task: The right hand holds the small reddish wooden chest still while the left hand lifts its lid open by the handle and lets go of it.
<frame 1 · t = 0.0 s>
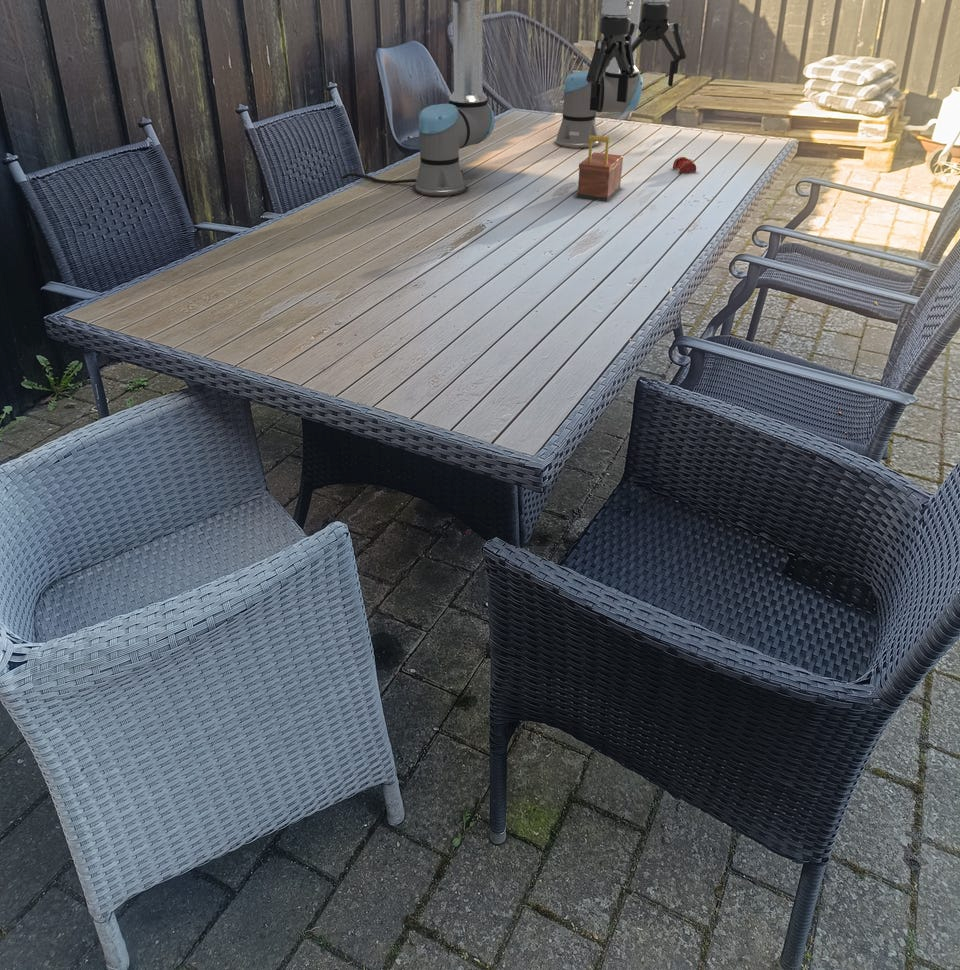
left hand: (608, 106, 226), 28 cm above the table, tool pointing down, fingers open, 13 cm apart
right hand: (647, 85, 248), 28 cm above the table, tool pointing down, fingers open, 13 cm apart
dental model: (684, 171, 275), on the table
lid: (602, 148, 248), point 13 cm above the table, hinge at 0.0°
chest: (598, 193, 256), on the table
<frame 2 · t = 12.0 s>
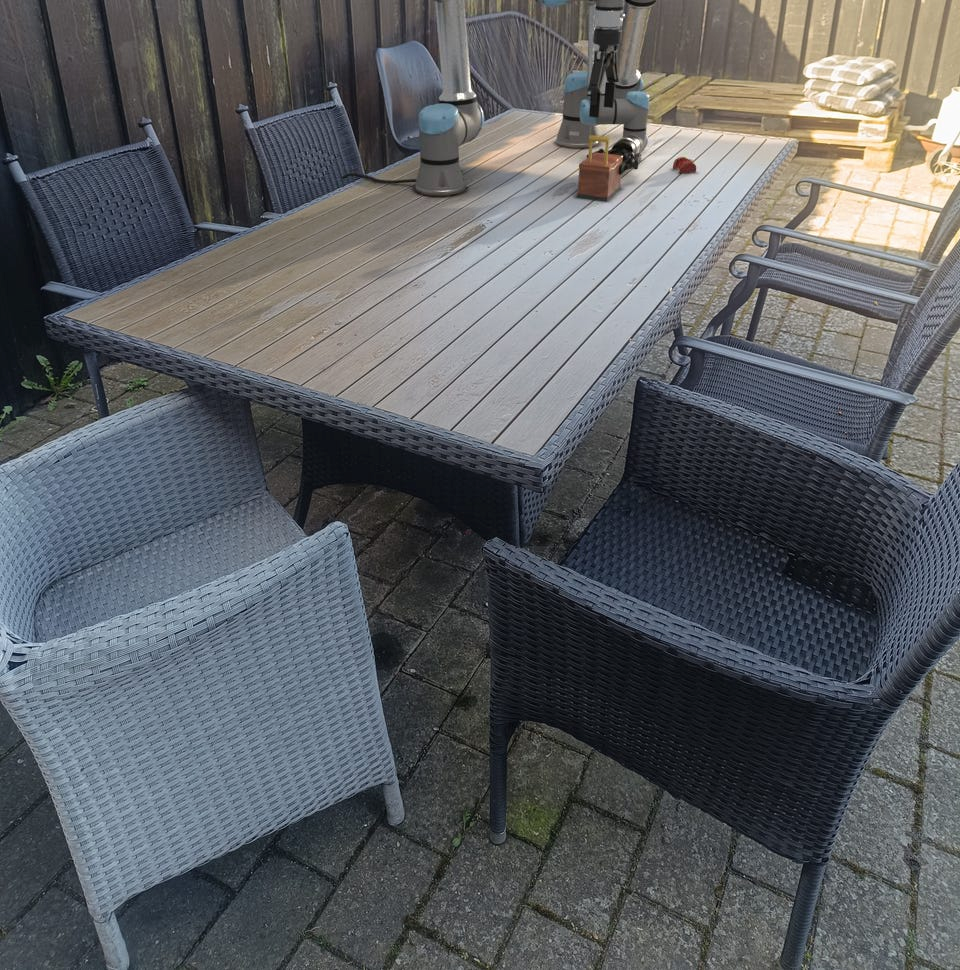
left hand: (601, 112, 239), 24 cm above the table, tool pointing down, fingers open, 13 cm apart
right hand: (604, 168, 255), 6 cm above the table, tool horizontal, fingers closed on chest, 9 cm apart
chest: (598, 193, 256), on the table, touching right hand
everything else where it was.
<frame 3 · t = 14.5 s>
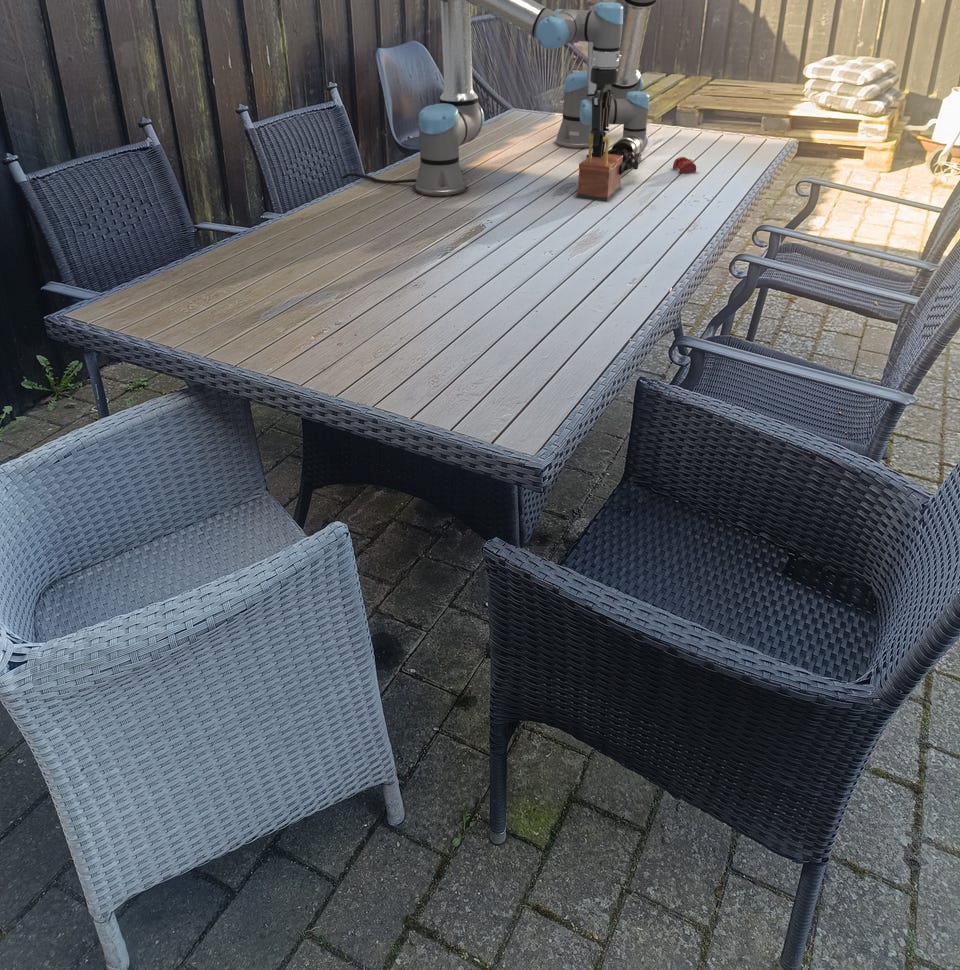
left hand: (598, 155, 246), 12 cm above the table, tool pointing down, fingers closed on lid, 1 cm apart
right hand: (604, 168, 255), 6 cm above the table, tool horizontal, fingers closed on chest, 9 cm apart
lid: (602, 148, 248), point 13 cm above the table, hinge at 0.0°, touching left hand
chest: (598, 193, 256), on the table, touching right hand
everything else where it was.
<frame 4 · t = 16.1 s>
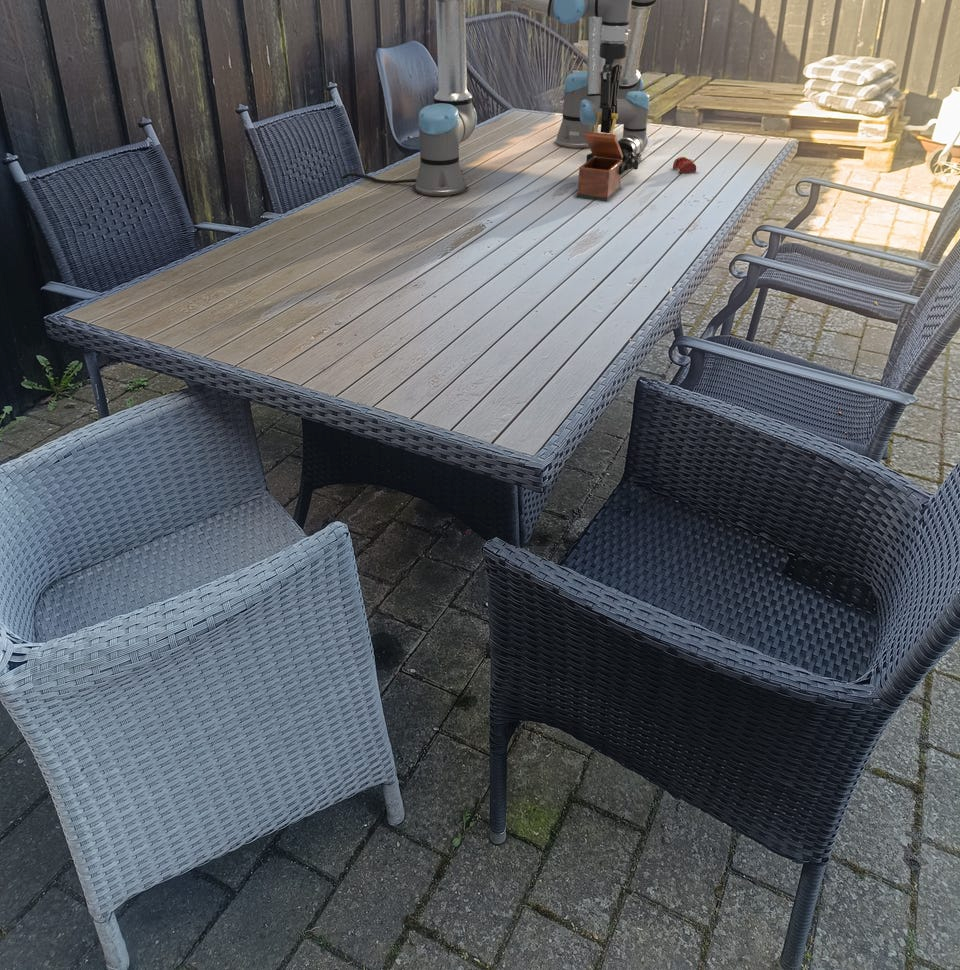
left hand: (606, 131, 247), 17 cm above the table, tool pointing down, fingers closed on lid, 1 cm apart
right hand: (604, 168, 255), 6 cm above the table, tool horizontal, fingers closed on chest, 9 cm apart
lid: (607, 133, 249), point 17 cm above the table, hinge at 36.6°, touching left hand
chest: (598, 193, 256), on the table, touching right hand
everything else where it was.
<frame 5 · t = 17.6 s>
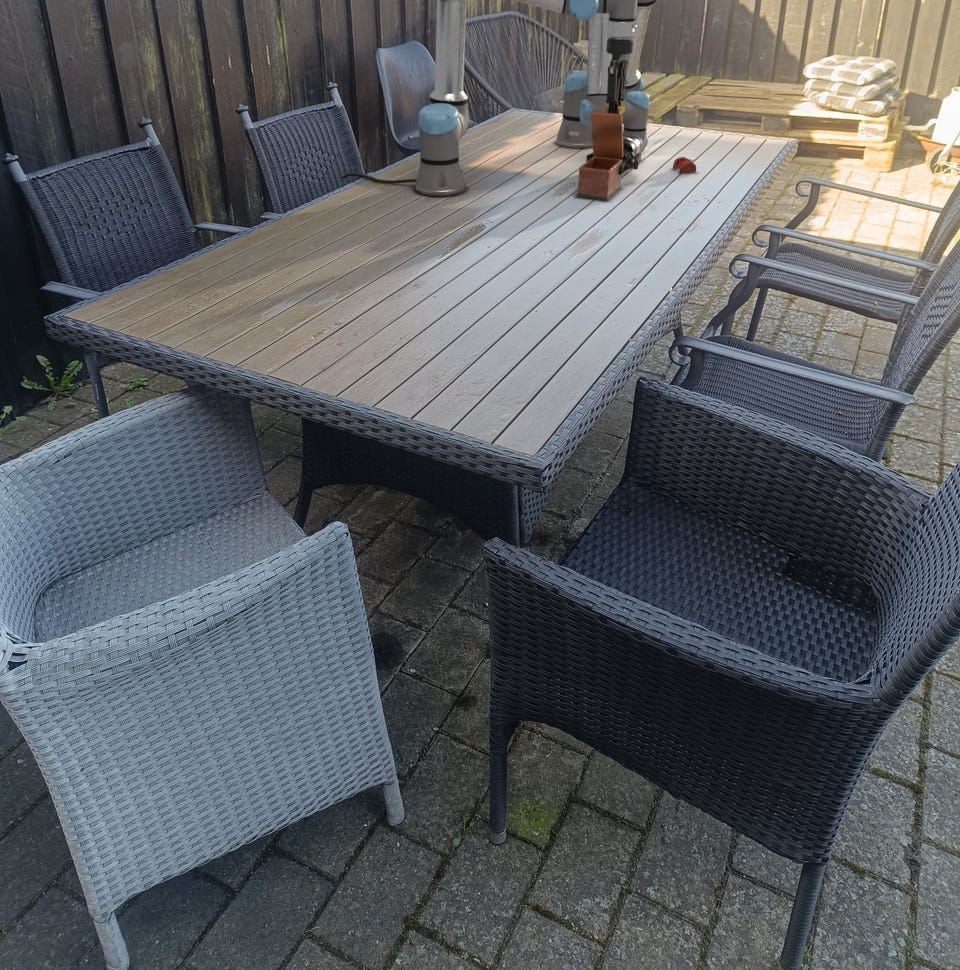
left hand: (613, 125, 252), 18 cm above the table, tool pointing down, fingers open, 2 cm apart
right hand: (604, 168, 255), 6 cm above the table, tool horizontal, fingers closed on chest, 9 cm apart
lid: (611, 127, 251), point 17 cm above the table, hinge at 66.5°
chest: (598, 193, 256), on the table, touching right hand
everything else where it was.
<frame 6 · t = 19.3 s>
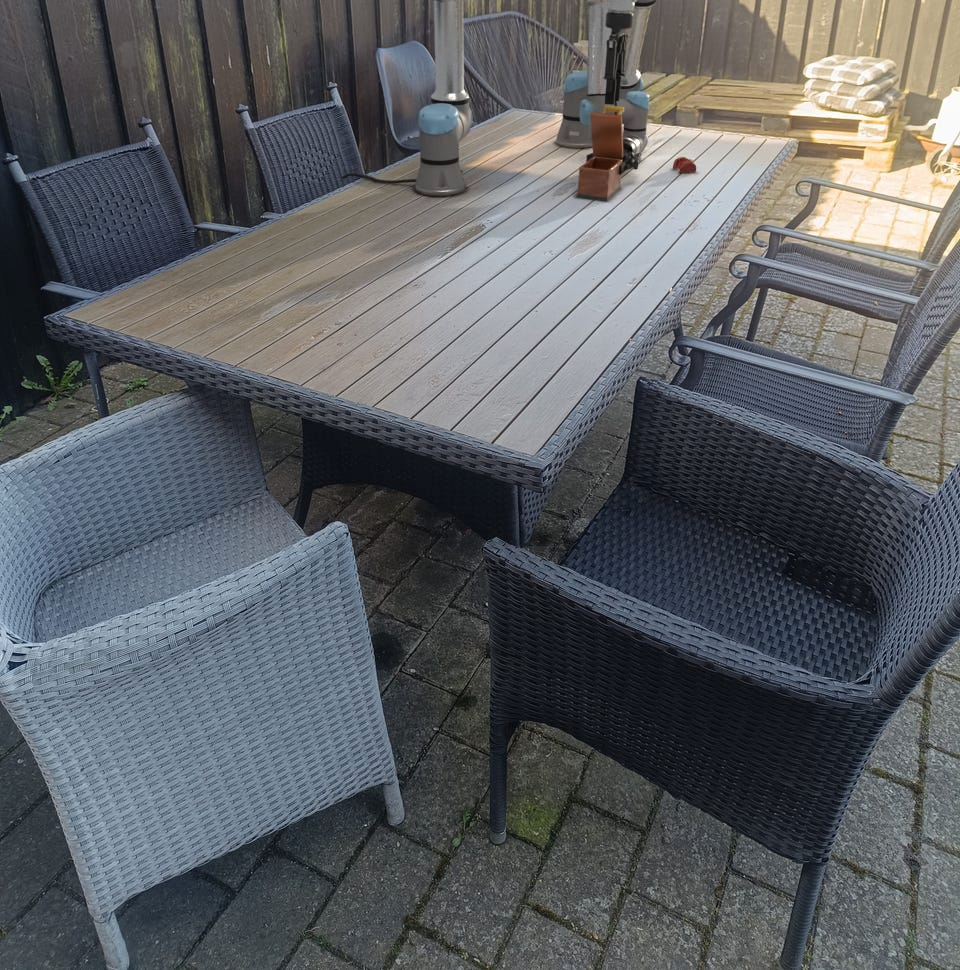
left hand: (612, 102, 246), 25 cm above the table, tool pointing down, fingers open, 4 cm apart
right hand: (604, 168, 255), 6 cm above the table, tool horizontal, fingers closed on chest, 9 cm apart
lid: (610, 127, 251), point 17 cm above the table, hinge at 64.8°
chest: (598, 193, 256), on the table, touching right hand
everything else where it was.
when the right hand's fingers open (6 cm above the table, at t = 21.9 s): chest stays where it is, on the table.
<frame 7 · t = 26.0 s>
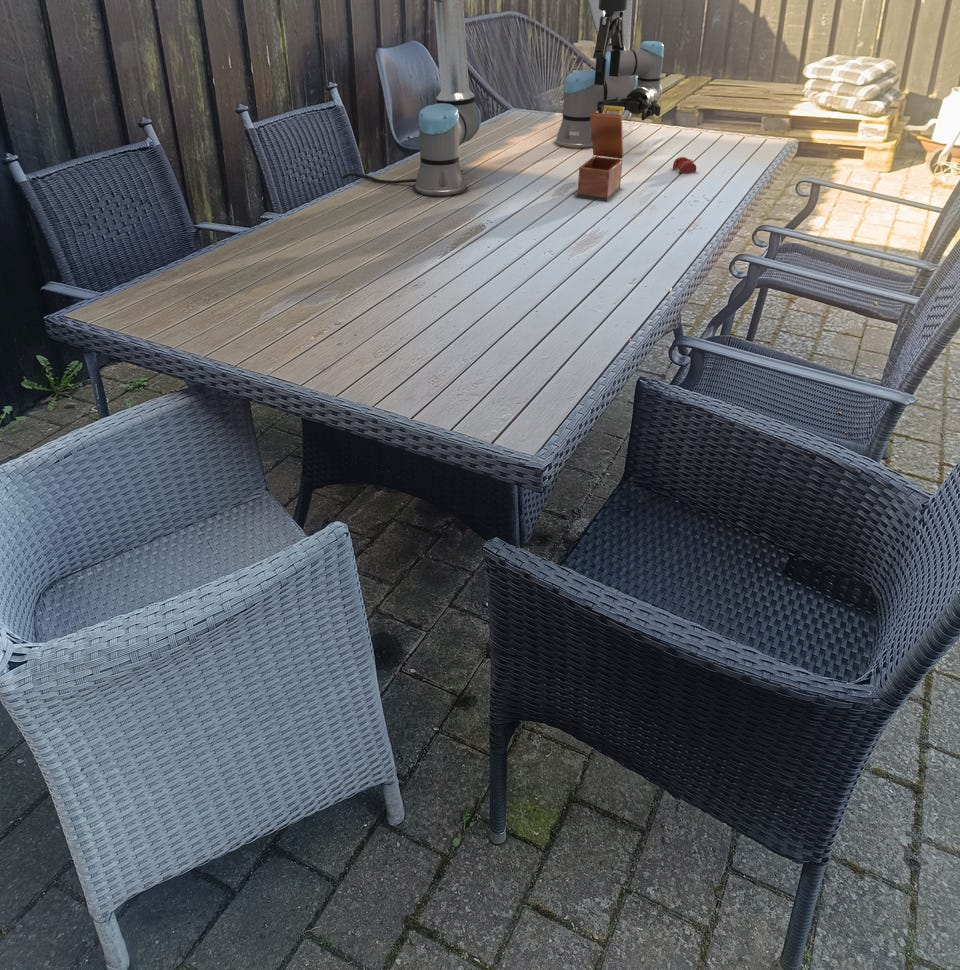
left hand: (606, 80, 236), 32 cm above the table, tool pointing down, fingers open, 13 cm apart
right hand: (621, 113, 257), 19 cm above the table, tool horizontal, fingers open, 13 cm apart
lid: (610, 127, 251), point 17 cm above the table, hinge at 64.3°
chest: (598, 193, 256), on the table
everything else where it was.
at the end: lid at +64° (first picture: +0°); the left hand is holding nothing; the right hand is holding nothing; chest tilted 0°; chest never tilted more than 1° during the clip; chest moved 0.0 cm from its start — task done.
